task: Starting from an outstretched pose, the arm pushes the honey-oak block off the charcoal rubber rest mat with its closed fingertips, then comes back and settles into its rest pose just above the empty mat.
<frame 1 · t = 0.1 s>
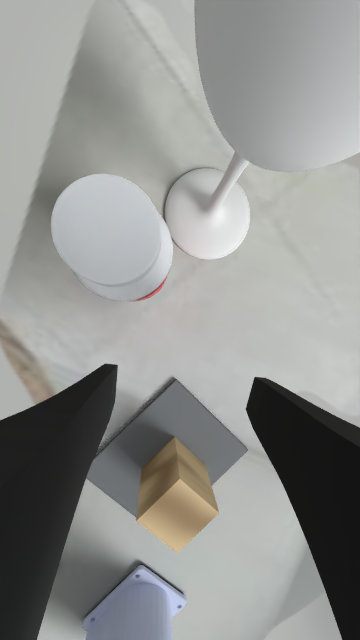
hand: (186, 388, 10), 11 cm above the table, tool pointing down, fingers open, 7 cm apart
oak block: (174, 466, 21), resting on rest mat
wineglass: (207, 216, 20), on the table
rest mat: (167, 458, 22), on the table
pill bottle: (136, 270, 19), on the table
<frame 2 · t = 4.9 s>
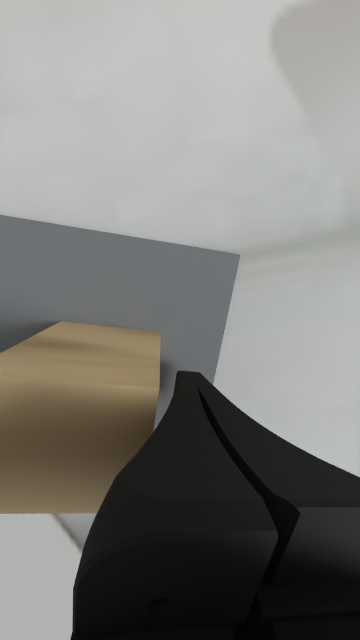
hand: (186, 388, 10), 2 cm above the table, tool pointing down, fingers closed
oak block: (109, 369, 11), resting on rest mat, touching gripper
rest mat: (110, 366, 11), on the table
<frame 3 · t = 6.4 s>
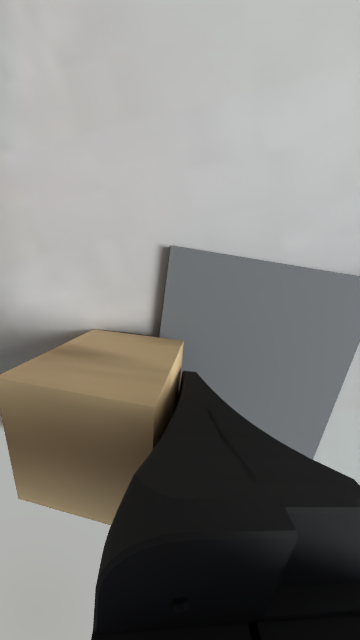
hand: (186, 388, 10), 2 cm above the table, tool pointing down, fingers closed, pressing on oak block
oak block: (136, 376, 11), point 1 cm above the table, tilted 15°, touching gripper
rest mat: (250, 378, 12), on the table
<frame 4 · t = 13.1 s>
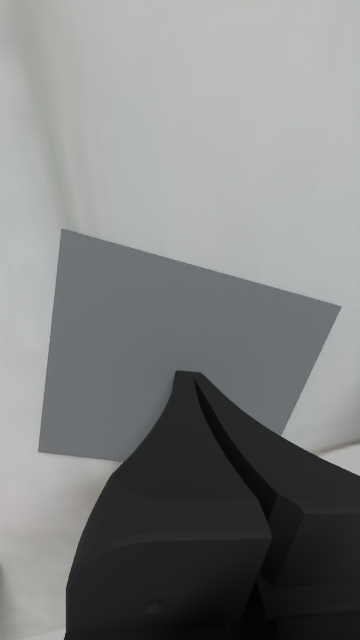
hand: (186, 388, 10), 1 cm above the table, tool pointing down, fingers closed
rest mat: (183, 377, 11), on the table
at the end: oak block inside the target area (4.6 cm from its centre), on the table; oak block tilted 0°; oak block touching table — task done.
